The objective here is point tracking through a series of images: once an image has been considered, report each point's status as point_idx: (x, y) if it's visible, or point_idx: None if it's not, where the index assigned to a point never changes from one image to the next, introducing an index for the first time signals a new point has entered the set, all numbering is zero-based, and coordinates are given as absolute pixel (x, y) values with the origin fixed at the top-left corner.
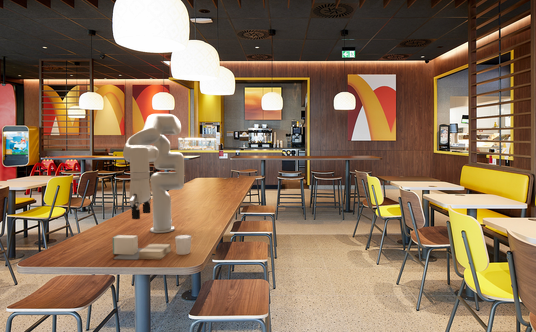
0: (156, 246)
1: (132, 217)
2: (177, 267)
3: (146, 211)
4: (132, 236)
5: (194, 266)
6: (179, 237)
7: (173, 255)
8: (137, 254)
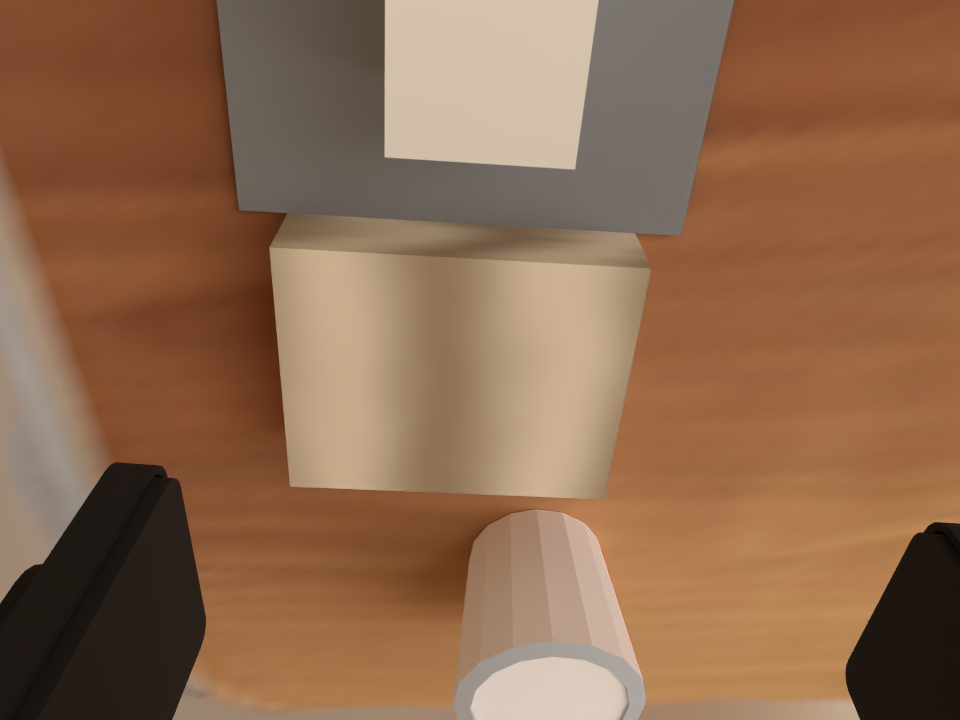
0: (508, 383)
1: (102, 500)
2: None
3: (898, 659)
4: (505, 91)
5: (190, 687)
6: (520, 681)
7: (442, 503)
8: None
